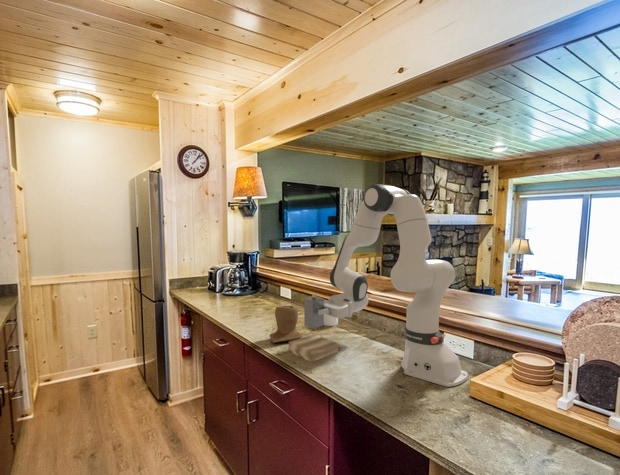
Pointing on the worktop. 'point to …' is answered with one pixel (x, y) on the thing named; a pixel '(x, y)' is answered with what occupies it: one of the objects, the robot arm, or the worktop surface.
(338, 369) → the worktop surface
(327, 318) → the mug
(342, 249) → the robot arm
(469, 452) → the worktop surface
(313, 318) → the block
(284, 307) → the brown piece
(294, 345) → the maple stand
